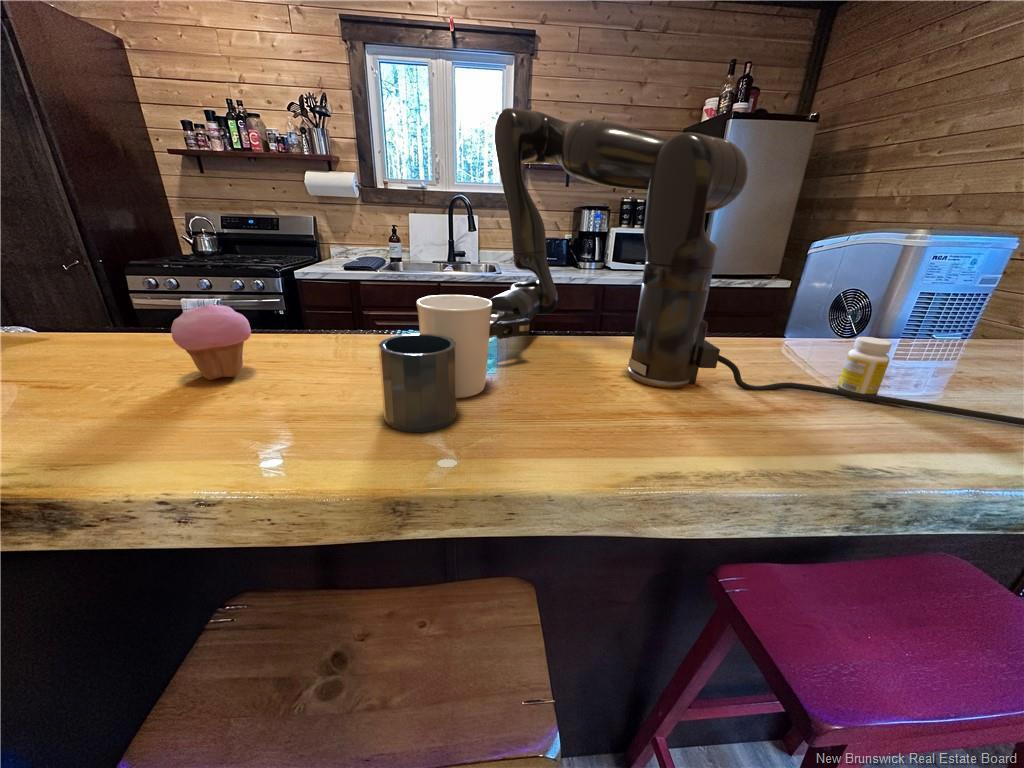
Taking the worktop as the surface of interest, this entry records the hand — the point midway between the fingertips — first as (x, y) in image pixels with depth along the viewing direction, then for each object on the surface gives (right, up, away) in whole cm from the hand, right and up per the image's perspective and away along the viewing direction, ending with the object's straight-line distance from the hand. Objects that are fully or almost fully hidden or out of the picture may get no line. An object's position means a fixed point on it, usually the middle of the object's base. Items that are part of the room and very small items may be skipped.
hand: (472, 335), depth 64 cm
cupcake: (-35, -6, -3) cm, 36 cm away
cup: (-5, -11, -12) cm, 17 cm away
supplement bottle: (+57, -9, +1) cm, 58 cm away
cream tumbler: (-2, -8, -3) cm, 8 cm away
